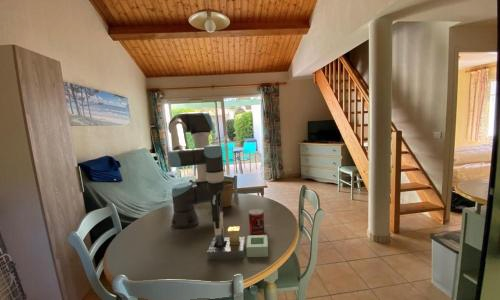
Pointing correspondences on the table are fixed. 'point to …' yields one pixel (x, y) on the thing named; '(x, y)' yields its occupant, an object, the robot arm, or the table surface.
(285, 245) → the table surface
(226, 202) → the plant pot
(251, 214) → the canned food
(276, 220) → the table surface
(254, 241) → the pale green box
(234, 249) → the socket block
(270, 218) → the table surface
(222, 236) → the white tall bar
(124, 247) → the table surface
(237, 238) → the tan rectangular block
